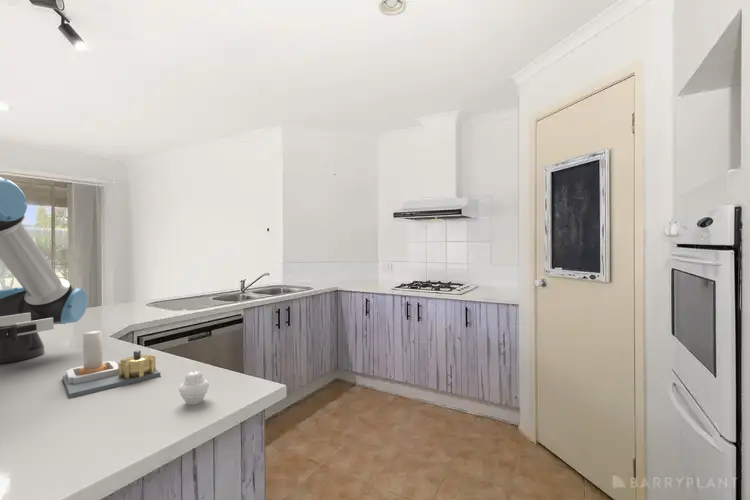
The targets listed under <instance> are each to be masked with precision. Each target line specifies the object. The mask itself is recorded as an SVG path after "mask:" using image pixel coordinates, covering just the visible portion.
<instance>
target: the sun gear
mask: <svg viewBox="0 0 750 500" xmlns="http://www.w3.org/2000/svg"><path fill="white" fill-rule="evenodd" d="M141 353H142V352H141V350H135V351H133V355H132V356H129V357H126V358H122V359H120V361H119V362H118V363H117V364H118V370H119V378H120V377H121V378H125V379H129V378H137V377H142V376H145V375H148V374H151V373H153V372H154V370H155V369H157V368H156V355H153V354H141Z"/></svg>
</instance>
